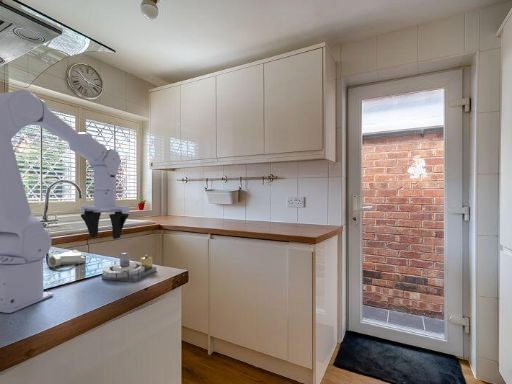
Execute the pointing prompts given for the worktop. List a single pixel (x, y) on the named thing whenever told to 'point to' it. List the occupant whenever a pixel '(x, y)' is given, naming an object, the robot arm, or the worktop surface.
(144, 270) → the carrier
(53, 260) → the pipe fitting
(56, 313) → the worktop surface
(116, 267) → the silver stemmed round piece
